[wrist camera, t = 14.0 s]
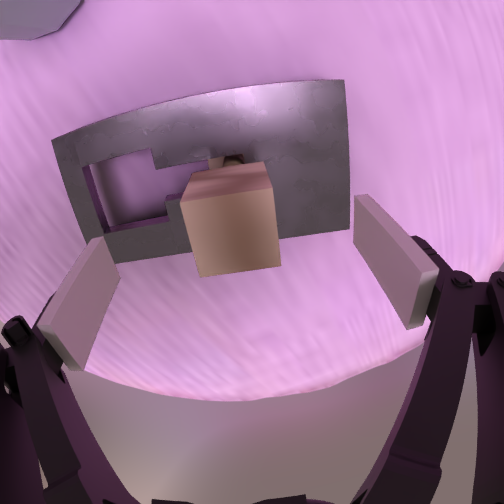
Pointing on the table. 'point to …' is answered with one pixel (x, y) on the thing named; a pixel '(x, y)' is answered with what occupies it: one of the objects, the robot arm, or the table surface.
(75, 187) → the keyhole plate
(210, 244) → the peg
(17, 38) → the water bottle
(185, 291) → the table surface
